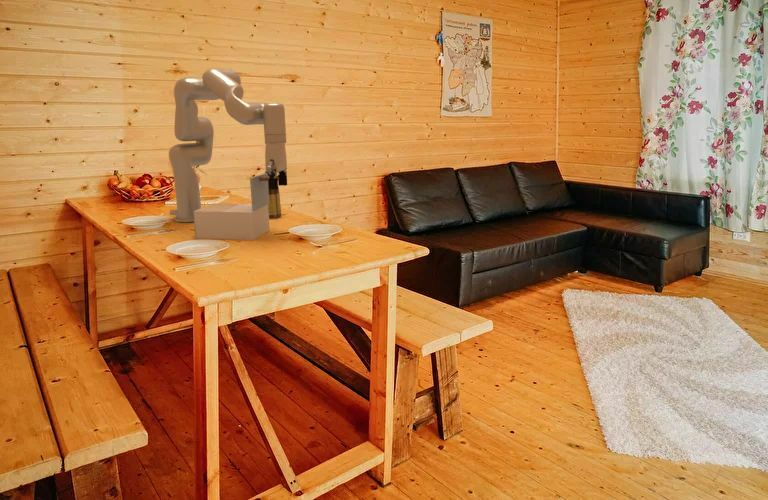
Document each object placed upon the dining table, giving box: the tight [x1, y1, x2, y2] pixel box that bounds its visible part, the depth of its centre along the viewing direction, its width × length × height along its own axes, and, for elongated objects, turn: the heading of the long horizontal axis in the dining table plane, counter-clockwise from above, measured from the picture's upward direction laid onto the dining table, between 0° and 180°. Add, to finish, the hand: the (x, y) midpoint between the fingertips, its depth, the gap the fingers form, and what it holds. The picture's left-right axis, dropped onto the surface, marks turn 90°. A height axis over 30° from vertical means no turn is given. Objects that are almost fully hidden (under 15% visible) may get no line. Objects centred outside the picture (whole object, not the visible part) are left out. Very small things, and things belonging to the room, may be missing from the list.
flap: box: [249, 172, 279, 211], centre depth 207 cm, size 12×15×7 cm
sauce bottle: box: [264, 170, 282, 219], centre depth 241 cm, size 7×6×20 cm
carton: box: [193, 202, 271, 241], centre depth 212 cm, size 23×16×10 cm
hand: (278, 187), depth 206 cm, fingers open, 9 cm apart
